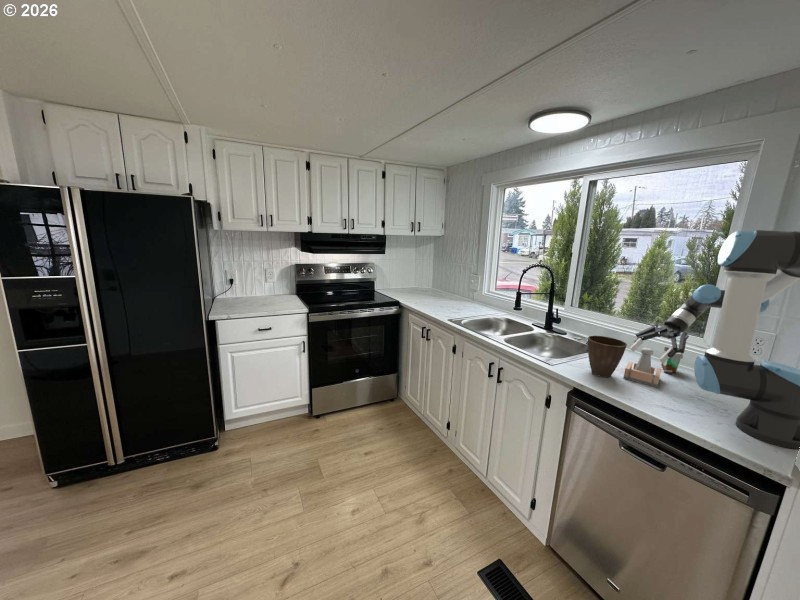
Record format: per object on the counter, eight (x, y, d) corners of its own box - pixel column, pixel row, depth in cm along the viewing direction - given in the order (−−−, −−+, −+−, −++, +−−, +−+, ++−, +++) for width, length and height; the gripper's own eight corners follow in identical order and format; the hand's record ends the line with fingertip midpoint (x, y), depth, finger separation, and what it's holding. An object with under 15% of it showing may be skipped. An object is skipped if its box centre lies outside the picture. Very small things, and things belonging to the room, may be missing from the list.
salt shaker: (631, 374, 144) (636, 347, 141) (638, 372, 146) (643, 345, 144) (645, 379, 139) (651, 351, 136) (652, 377, 141) (658, 350, 139)
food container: (681, 377, 146) (686, 356, 144) (664, 373, 150) (669, 353, 148) (676, 368, 157) (680, 349, 155) (660, 365, 160) (664, 346, 158)
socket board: (657, 387, 135) (659, 376, 134) (623, 378, 142) (625, 368, 142) (659, 378, 144) (661, 368, 143) (627, 370, 151) (629, 361, 150)
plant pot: (575, 366, 153) (580, 334, 150) (605, 367, 154) (611, 335, 150) (595, 380, 138) (601, 345, 135) (628, 381, 139) (635, 346, 136)
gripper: (715, 336, 131) (679, 372, 131) (654, 320, 155) (624, 350, 154) (708, 323, 129) (672, 360, 128) (648, 309, 153) (617, 340, 152)
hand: (645, 355), depth 141 cm, fingers open, 13 cm apart
